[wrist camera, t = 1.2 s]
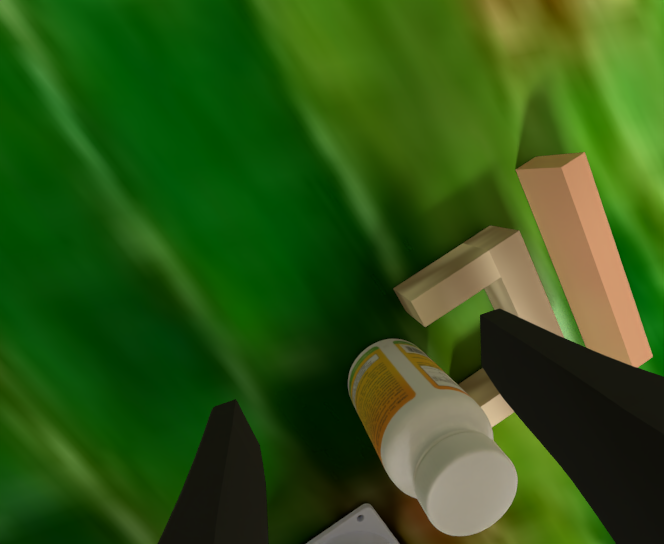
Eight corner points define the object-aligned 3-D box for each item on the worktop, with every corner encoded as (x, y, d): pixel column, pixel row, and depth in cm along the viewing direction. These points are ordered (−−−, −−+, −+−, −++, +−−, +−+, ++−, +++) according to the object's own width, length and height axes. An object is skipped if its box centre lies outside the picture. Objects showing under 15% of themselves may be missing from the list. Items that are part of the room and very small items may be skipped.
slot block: (460, 408, 26) (483, 432, 23) (393, 288, 23) (411, 301, 20) (545, 351, 26) (576, 368, 24) (490, 225, 23) (519, 230, 21)
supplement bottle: (353, 425, 25) (418, 571, 15) (338, 349, 23) (399, 460, 14) (431, 401, 25) (537, 526, 16) (421, 326, 24) (531, 417, 15)
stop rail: (586, 347, 27) (633, 370, 24) (515, 169, 23) (561, 167, 20) (603, 335, 27) (652, 356, 24) (535, 156, 23) (584, 152, 20)
